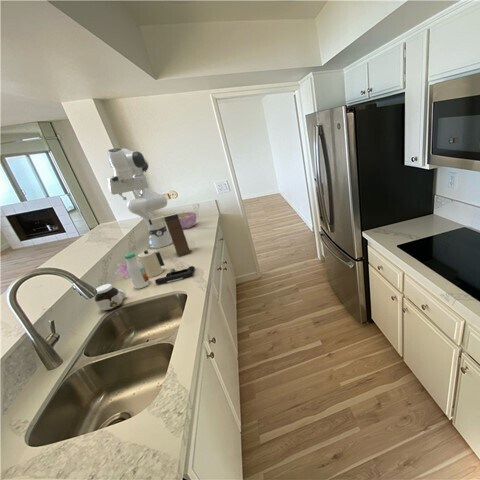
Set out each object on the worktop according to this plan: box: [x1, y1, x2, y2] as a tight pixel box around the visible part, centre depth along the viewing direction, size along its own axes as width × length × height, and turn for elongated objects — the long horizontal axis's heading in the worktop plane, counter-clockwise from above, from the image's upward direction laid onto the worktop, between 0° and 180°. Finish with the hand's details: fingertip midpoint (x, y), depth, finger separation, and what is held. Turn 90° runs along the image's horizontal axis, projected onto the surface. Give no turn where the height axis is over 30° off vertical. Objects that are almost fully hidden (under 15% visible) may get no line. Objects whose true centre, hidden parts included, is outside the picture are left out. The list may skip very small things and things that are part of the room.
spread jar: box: [94, 283, 127, 312], centre depth 135 cm, size 12×11×12 cm
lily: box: [114, 259, 130, 279], centre depth 166 cm, size 12×12×10 cm
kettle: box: [136, 249, 165, 278], centre depth 162 cm, size 14×9×16 cm, turn 125°
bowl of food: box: [179, 211, 197, 230], centre depth 246 cm, size 20×20×12 cm
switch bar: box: [148, 210, 186, 225], centre depth 179 cm, size 3×22×3 cm, turn 125°
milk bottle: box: [124, 252, 151, 290], centre depth 149 cm, size 8×8×20 cm
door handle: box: [154, 265, 195, 285], centre depth 159 cm, size 3×20×16 cm
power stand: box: [164, 212, 191, 258], centre depth 185 cm, size 10×8×29 cm
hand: (133, 198), depth 168 cm, fingers open, 8 cm apart
